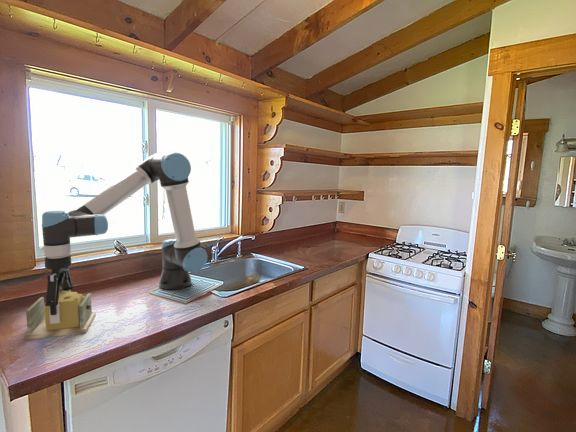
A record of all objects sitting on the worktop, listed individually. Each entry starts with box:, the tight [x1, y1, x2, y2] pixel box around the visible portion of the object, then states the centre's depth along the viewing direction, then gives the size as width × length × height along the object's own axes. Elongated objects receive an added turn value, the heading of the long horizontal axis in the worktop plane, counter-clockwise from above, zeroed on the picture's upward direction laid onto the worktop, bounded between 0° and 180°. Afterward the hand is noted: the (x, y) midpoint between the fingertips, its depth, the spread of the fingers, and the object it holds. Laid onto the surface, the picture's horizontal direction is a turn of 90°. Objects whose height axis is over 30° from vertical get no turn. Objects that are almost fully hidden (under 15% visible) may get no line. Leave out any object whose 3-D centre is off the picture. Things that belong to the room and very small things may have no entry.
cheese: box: [44, 291, 86, 330], centre depth 116 cm, size 10×11×10 cm
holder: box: [22, 292, 97, 341], centre depth 116 cm, size 18×14×10 cm
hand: (61, 315), depth 116 cm, fingers open, 12 cm apart
